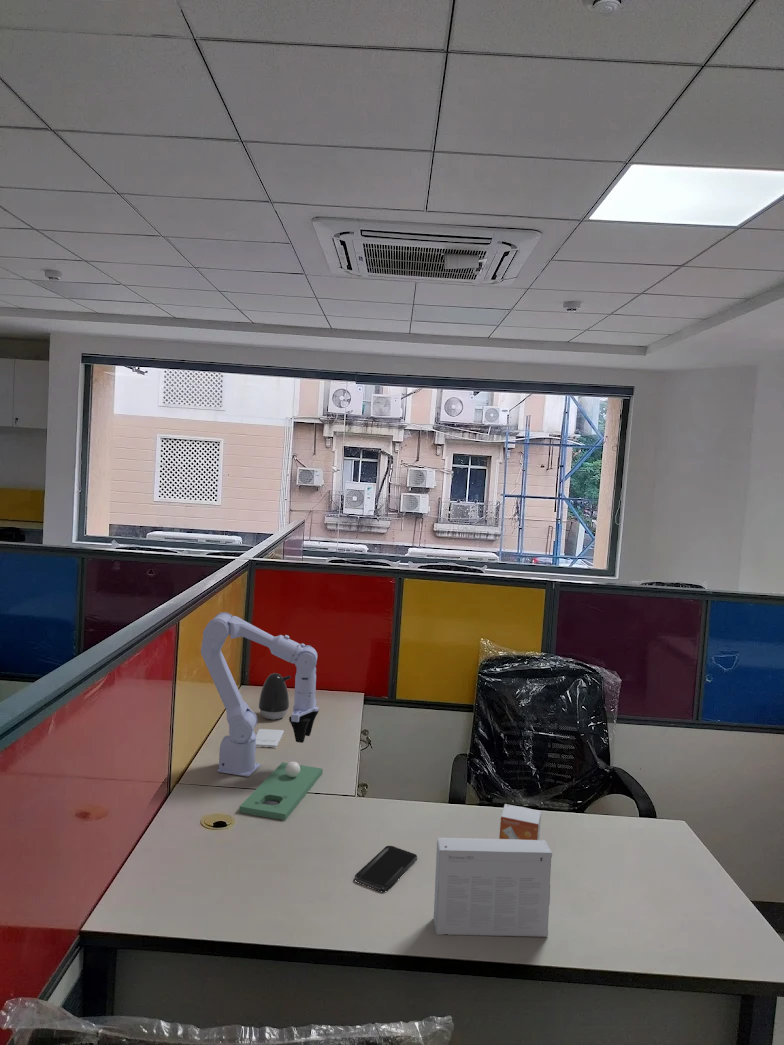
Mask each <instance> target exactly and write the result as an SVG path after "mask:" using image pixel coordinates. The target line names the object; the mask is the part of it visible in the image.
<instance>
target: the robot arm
mask: <svg viewBox="0 0 784 1045" xmlns="http://www.w3.org/2000/svg"><path fill="white" fill-rule="evenodd" d="M229 636H230V637H229ZM228 637H229V638H230V640H233V639H237V638H244V639H247V640H250V641H253V642H254V643H257V644H259V645H262V646H264V647H267V648H268V649H269V651H270V654H272V655H273V656H275V657H277V658H280V659H282V660H283V661H286V662H288V663H291V664H293V665H295V668H296V673H295V677H294V680H295V682H294V703H293V707H292V708H293V709H292V714H291V715H290V716H289V717H288V720H289V723H290V725H291V727H292V731H293V734H294V738H295V739H294V740H295V742H296V743H301V744H302V743H304V742H305V739H306V737H310V736H311V733H312V729H313V725H314V722H315V720H316V717H317V715H318V713H319V708H320V707H319V706H317V698H316V690H317V688H316V687H317V686H316V685H317V667H316V666H317V664H318V663H317V661H318V652H317V651H316V649H315V648H314V647H312V645H310V644H309V645H308V644H307V645H306V644H305V643H303V642H302V643H299V642H297V641H295V640H292V639H290V636H289V635H287V634H285V635H282V634H279V635H277V636H274V635H272V634H270V633H269V632H266V631H264V630H262V629H261V628H259V627H257V626H255V625H253V624H251V623H250V622H248V621H246V620H244V619H242V618H241V617H239V616H236V615H232V614H231V613H229V612H224V611H223V612H222V611H221V612H219V613H217V614H216V615H215V616H214V618H212V619H210V621H209V622H208V623H207V624H206V625H205V627H204V629H203V631H202V642H201V646H200V647H201V648H200V655H201V657H202V659H203V661H204V663H205V665H206V667H207V670H208V673H209V675H210V677H211V679H212V681H213V684H214V686H215V688H216V690H217V692H218V695H219V697H220V699H221V702H222V703H223V706H224V708H225V711H226V721H227V723H228V728H229V729H228V733H229V735H225V736H223V738H222V740H221V741H220V745H219V754H218V755H219V757H218V761H219V762H218V769H217V772H218V773H222V774H229V775H236V776H242V777H250V776H252V775H253V773H254V772H256V770H257V769H259V768H260V767H261V763H260V762H259V763H258V762H256V753H257V752H256V749H257V747H256V733H255V728H256V726H257V723H258V716H257V714H256V713H255V711H254V710H252V709H251V708H250V707H249V704H248V703H247V702H245V701H244V699H243V697H242V694H241V692H240V690H239V688H238V686H237V684H236V681H235V679H234V677H233V675H232V671H231V670H230V668H229V665H228V663H227V661H226V659H225V656H224V654H223V652H222V648H223V646H224V644H225V642H226V639H227V638H228Z"/></svg>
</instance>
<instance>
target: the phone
mask: <svg viewBox="0 0 784 1045" xmlns="http://www.w3.org/2000/svg"><path fill="white" fill-rule="evenodd" d="M415 861H416V862H417V861H418V856H417V854H415V853H413V852H410V851H407V850H406V849H402V848H399V847H396V846H393V845H385V847H383V849H382V850H380V851H379V853H378V854H376V855H375V856H374V857H373V858H372V859H371V860H370V861H368V863H366V864H365V865H364V866H363V867H362V868H361V869H360V870H359V871H358V872H357V873H355V875H354V881H355V880H356V881H357V882H359V883H361V884H360V885H362V884H364V885H366V886H365V887H367V886H369V887H371V888H370V889H372V888H374V889H376V890H375V891H377V890H379V891H382V892H381V893H386V892H385V891H387V892H388V891H390V890H391V888H392V887H393V886H394V885H395V884H396V883H397V882H398V881H399V880H400V879H401V878H402V877H403V876H404V875H405V874H406V873H407V872H408V871H409V870H410V868H411V867H412V866H413V865H414V864H415V863H416V862H415ZM405 872H406V873H405ZM404 873H405V874H404ZM403 874H404V875H403ZM402 875H403V876H402ZM401 876H402V877H401ZM400 877H401V878H400ZM398 879H399V880H398ZM357 882H356V883H357ZM395 882H396V883H395ZM359 883H358V884H359ZM364 885H363V886H364ZM369 887H368V888H369ZM374 889H373V890H374ZM379 891H378V892H379Z"/></svg>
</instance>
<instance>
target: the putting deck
mask: <svg viewBox="0 0 784 1045" xmlns="http://www.w3.org/2000/svg"><path fill="white" fill-rule="evenodd" d="M288 763H289V762H281V763H280V764H279V765H278V766H277V767H276V768H275V769H274V770H273V772H271V773H270V774H269V775H268V777H266V779H264V780H263V781H262V782H261V784H259V786H257V788H256V789H255V790H254V791H253V792H252V793H251V794H249V796H248V797H247V798H246V799H245V800H244V801H243V802H242V803H241V804H240V805H239V810H238V813H240V814H241V813H242V814H246V815H253V816H259V817H264V818H269V819H275V820H282V821H287V819H288V818H289V816H290V815H291V814H292V813H293V811H294V810H295V809H296V808H297V806H298V805H299V804H300V803H301V801H302V800H303V799H304V798H305V796H306V795H307V794H308V793H309V791H310V790H311V789H312V788H313V786H314V785H315V784H316V783H317V781H318V780H319V779H320V777H322V775H323V769H324V768H321V767H317V766H316V767H315V766H310V765H309V766H308V765H303V764H302V765H301V764H299V766H300V772H299V774H298V775H297V776H296V777H289V776H288V775H287V774H286V772H285V768H286V765H287V764H288Z"/></svg>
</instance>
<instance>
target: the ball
mask: <svg viewBox="0 0 784 1045" xmlns="http://www.w3.org/2000/svg"><path fill="white" fill-rule="evenodd" d="M287 763H288V764H287V765H286V768H285V772H286V774H287V775H288V776H289V777H296V776H297V775H298V774H299V772H300V766H299V765H300V764H299V763H298V762H297V761H290V762H287Z"/></svg>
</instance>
